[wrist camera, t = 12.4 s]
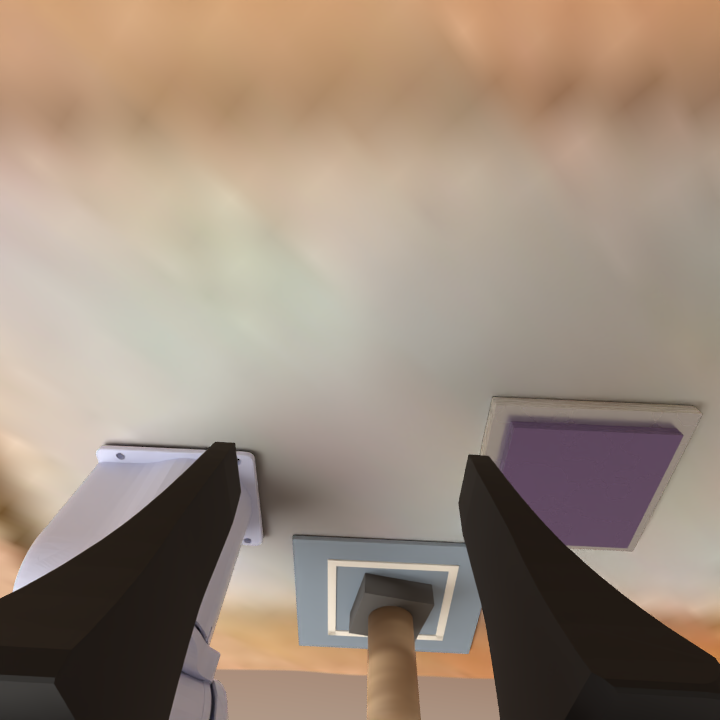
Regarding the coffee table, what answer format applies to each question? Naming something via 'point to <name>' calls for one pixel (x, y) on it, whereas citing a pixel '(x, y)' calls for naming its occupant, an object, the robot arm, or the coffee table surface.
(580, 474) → the ink pad
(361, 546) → the marked board
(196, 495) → the robot arm
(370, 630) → the wooden stamp
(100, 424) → the coffee table surface
